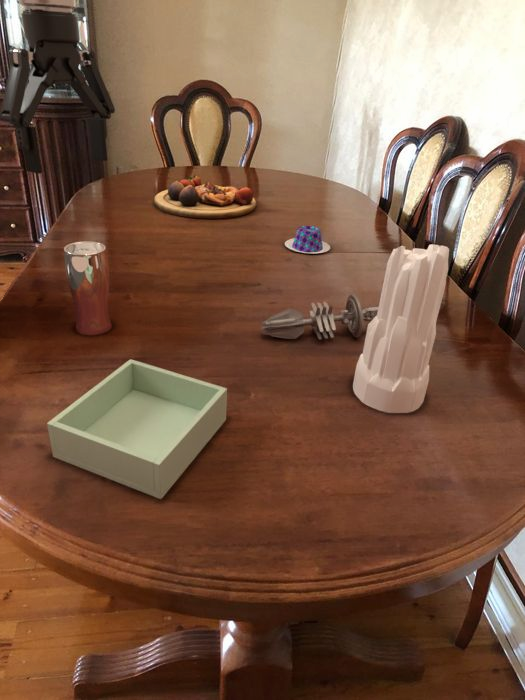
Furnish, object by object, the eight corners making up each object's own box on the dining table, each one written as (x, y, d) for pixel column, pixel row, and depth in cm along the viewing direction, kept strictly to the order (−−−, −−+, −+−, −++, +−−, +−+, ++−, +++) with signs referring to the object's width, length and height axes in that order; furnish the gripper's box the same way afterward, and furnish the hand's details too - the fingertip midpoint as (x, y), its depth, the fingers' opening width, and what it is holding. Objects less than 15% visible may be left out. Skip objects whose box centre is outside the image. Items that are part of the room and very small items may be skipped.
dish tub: (53, 458, 65) (46, 423, 62) (132, 390, 78) (130, 358, 76) (161, 500, 60) (159, 464, 57) (226, 420, 73) (227, 388, 71)
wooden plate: (274, 205, 172) (276, 179, 168) (218, 227, 148) (218, 198, 144) (196, 188, 185) (195, 163, 181) (132, 206, 161) (131, 178, 157)
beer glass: (120, 322, 96) (114, 243, 89) (102, 340, 90) (93, 257, 83) (86, 316, 97) (76, 238, 90) (65, 333, 92) (53, 251, 84)
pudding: (339, 252, 136) (342, 232, 134) (301, 258, 131) (303, 238, 128) (311, 238, 145) (314, 219, 142) (275, 243, 139) (277, 224, 137)
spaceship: (460, 306, 93) (443, 274, 97) (266, 331, 88) (257, 296, 92) (446, 333, 99) (430, 302, 104) (264, 358, 94) (256, 325, 99)
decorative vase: (341, 379, 84) (366, 227, 72) (398, 370, 88) (431, 223, 75) (376, 420, 76) (411, 255, 63) (437, 408, 79) (483, 249, 66)
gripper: (-13, 3, 64) (19, 182, 74) (130, 17, 83) (139, 158, 93) (-51, 2, 67) (-15, 174, 78) (95, 15, 86) (107, 152, 96)
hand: (69, 165), depth 85 cm, fingers open, 13 cm apart
